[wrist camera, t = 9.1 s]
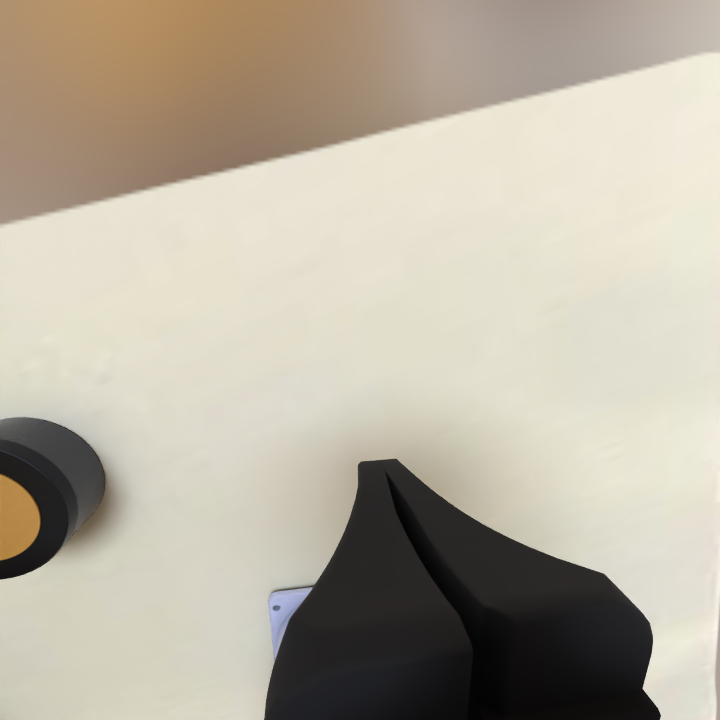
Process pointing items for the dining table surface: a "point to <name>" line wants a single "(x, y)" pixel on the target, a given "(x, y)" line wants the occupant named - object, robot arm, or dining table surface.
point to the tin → (43, 491)
